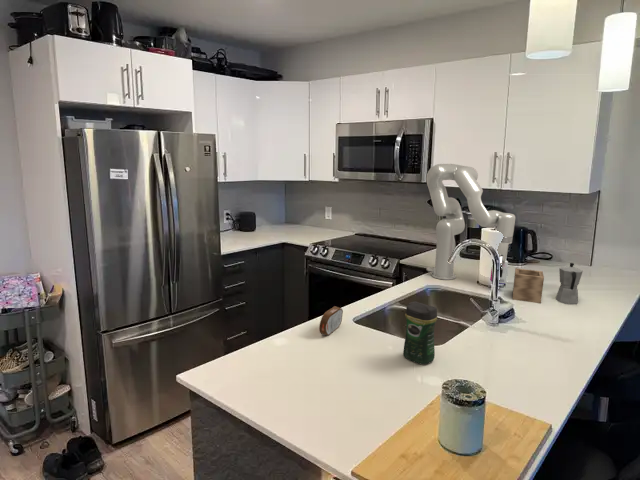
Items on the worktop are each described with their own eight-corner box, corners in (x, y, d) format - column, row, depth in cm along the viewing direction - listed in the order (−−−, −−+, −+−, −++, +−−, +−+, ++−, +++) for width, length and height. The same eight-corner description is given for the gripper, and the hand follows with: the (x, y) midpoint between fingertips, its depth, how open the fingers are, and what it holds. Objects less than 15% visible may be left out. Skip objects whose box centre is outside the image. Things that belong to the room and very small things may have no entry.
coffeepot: (553, 295, 208) (557, 258, 205) (575, 298, 205) (580, 260, 202) (558, 306, 194) (563, 266, 191) (582, 308, 191) (588, 268, 187)
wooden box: (512, 299, 201) (515, 274, 199) (512, 292, 212) (515, 268, 210) (540, 303, 197) (544, 277, 195) (539, 295, 208) (542, 271, 205)
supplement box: (501, 280, 217) (505, 258, 214) (505, 284, 211) (508, 261, 209) (489, 279, 218) (492, 257, 215) (492, 283, 212) (496, 261, 209)
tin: (336, 323, 170) (337, 302, 168) (343, 325, 169) (344, 304, 167) (318, 337, 157) (318, 315, 155) (326, 339, 156) (326, 317, 154)
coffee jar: (438, 359, 142) (442, 305, 138) (424, 367, 137) (428, 311, 133) (413, 349, 149) (416, 297, 145) (398, 356, 144) (402, 303, 140)
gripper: (495, 234, 219) (491, 269, 223) (494, 241, 203) (489, 278, 207) (512, 236, 216) (507, 271, 220) (512, 243, 200) (506, 281, 204)
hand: (498, 274), depth 214 cm, fingers closed on supplement box, 6 cm apart
